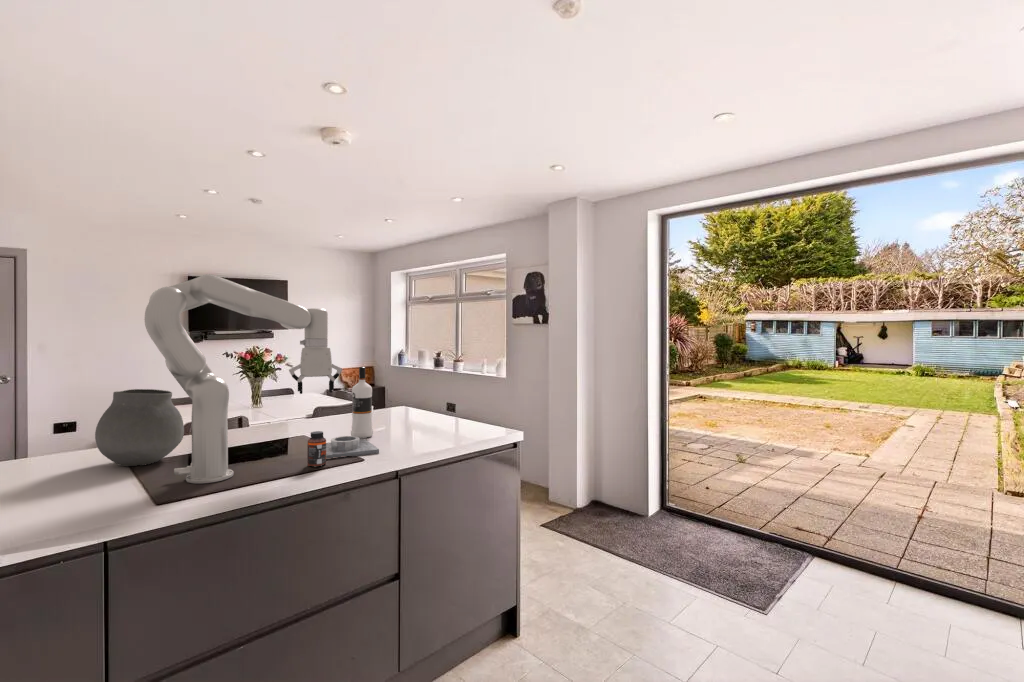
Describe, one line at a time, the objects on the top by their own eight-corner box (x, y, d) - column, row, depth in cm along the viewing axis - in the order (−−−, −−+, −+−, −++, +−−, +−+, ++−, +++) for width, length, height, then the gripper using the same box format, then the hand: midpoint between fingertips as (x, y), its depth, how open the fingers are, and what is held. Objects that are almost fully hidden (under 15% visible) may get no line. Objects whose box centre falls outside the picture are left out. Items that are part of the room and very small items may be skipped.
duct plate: (322, 460, 176) (322, 447, 176) (312, 448, 194) (312, 436, 193) (379, 453, 187) (379, 441, 187) (364, 442, 204) (364, 431, 204)
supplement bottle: (324, 467, 167) (324, 433, 167) (305, 468, 166) (305, 434, 166) (327, 462, 173) (327, 430, 173) (309, 463, 172) (309, 430, 172)
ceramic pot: (182, 466, 166) (181, 392, 166) (87, 477, 154) (86, 396, 153) (185, 451, 187) (185, 384, 187) (103, 459, 175) (102, 387, 174)
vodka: (375, 437, 214) (376, 367, 213) (354, 439, 209) (354, 368, 208) (369, 433, 222) (369, 365, 221) (348, 435, 217) (348, 366, 216)
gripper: (289, 344, 167) (289, 395, 168) (343, 344, 175) (343, 393, 175) (288, 343, 174) (288, 392, 175) (340, 343, 182) (340, 390, 182)
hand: (315, 392), depth 175 cm, fingers open, 9 cm apart
